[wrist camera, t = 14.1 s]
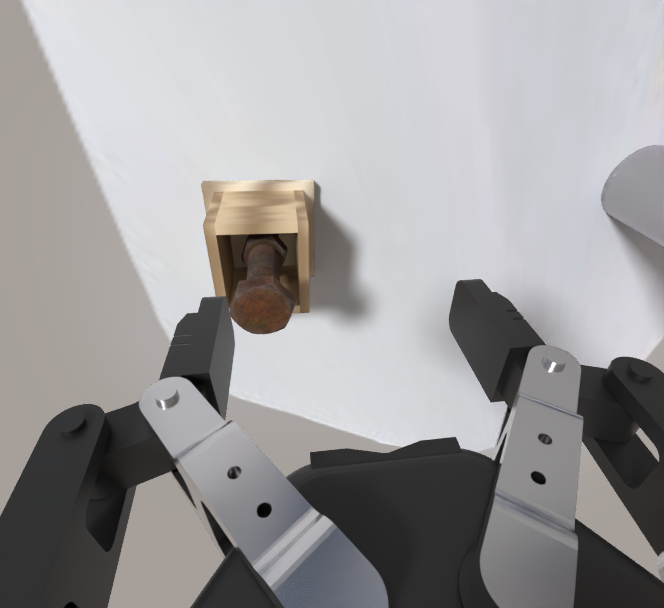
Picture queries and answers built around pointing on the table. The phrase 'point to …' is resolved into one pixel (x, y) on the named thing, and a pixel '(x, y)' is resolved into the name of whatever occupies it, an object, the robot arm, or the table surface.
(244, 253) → the bolt
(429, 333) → the table surface
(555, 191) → the table surface
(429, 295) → the table surface
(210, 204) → the socket block
